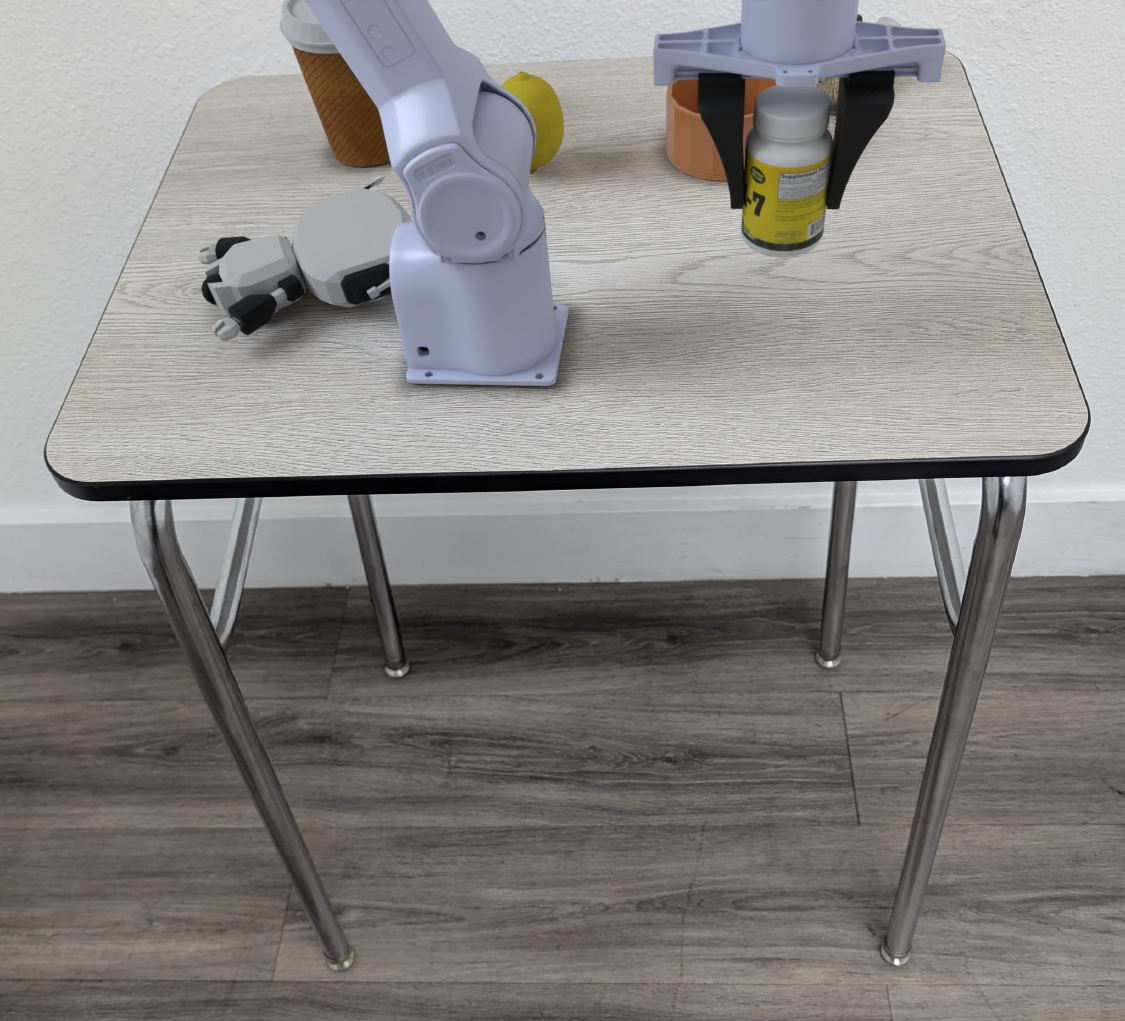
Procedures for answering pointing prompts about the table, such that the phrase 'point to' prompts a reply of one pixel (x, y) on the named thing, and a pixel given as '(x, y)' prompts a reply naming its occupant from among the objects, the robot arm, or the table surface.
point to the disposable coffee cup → (334, 90)
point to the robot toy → (305, 261)
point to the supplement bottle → (787, 171)
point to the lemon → (539, 114)
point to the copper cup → (701, 128)
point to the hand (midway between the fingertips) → (783, 200)
